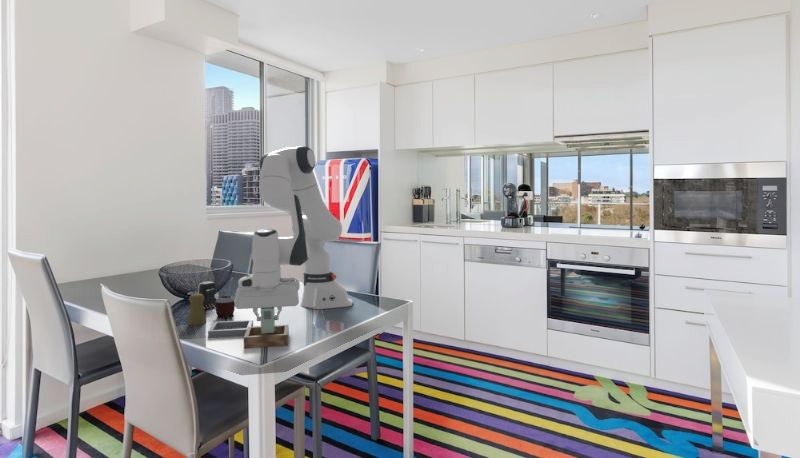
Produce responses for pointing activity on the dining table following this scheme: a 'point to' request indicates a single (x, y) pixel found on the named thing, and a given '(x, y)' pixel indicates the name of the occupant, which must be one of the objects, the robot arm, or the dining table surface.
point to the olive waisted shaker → (196, 310)
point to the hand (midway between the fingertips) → (267, 320)
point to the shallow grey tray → (229, 332)
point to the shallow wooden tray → (266, 337)
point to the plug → (267, 320)
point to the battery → (208, 294)
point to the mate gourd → (225, 305)
